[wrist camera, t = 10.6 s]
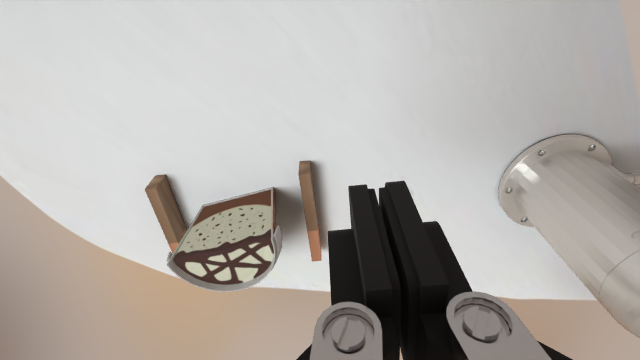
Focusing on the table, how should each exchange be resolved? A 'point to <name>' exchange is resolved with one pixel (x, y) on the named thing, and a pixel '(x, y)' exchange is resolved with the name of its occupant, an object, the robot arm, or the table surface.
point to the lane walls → (176, 229)
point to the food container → (230, 243)
